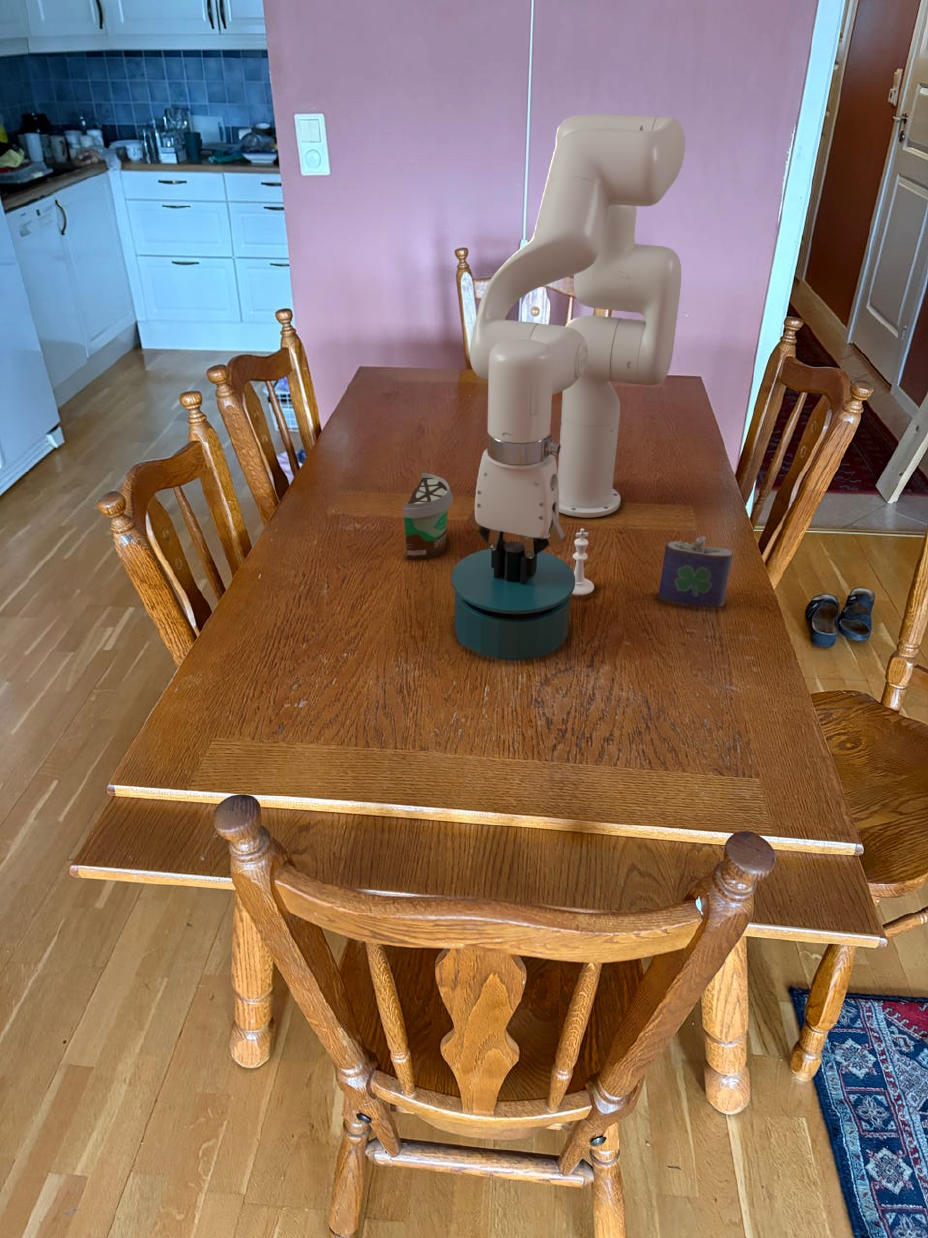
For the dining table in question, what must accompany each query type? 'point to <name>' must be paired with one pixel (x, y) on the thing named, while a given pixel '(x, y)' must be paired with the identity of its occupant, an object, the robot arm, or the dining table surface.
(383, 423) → the dining table surface
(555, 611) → the pot
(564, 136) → the robot arm
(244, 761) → the dining table surface
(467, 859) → the dining table surface
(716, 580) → the flask
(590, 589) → the chess piece
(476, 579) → the pot lid
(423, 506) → the food container
